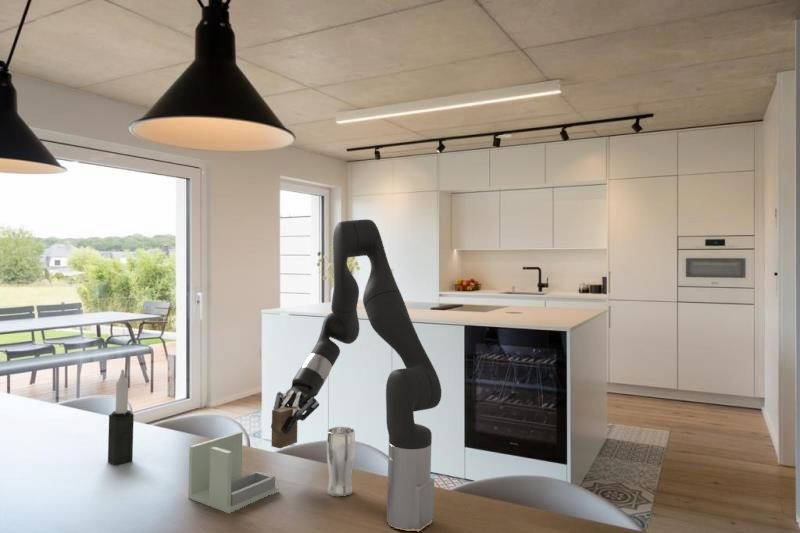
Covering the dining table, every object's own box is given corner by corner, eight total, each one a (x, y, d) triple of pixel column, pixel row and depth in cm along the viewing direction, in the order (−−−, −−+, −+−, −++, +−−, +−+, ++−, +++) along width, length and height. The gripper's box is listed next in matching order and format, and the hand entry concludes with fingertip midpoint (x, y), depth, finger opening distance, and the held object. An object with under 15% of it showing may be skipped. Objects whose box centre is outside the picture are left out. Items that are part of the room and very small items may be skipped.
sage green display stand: (278, 491, 137) (279, 437, 137) (229, 513, 125) (230, 454, 125) (238, 478, 145) (239, 427, 145) (188, 498, 132) (189, 442, 132)
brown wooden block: (297, 442, 146) (297, 407, 146) (280, 448, 141) (280, 412, 141) (288, 440, 147) (289, 405, 147) (271, 446, 142) (272, 410, 142)
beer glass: (327, 499, 134) (329, 435, 134) (323, 487, 140) (324, 427, 140) (356, 496, 135) (358, 433, 135) (351, 485, 142) (352, 425, 142)
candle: (115, 466, 151) (117, 372, 151) (106, 461, 154) (108, 369, 154) (134, 461, 155) (136, 369, 155) (124, 456, 158) (127, 367, 158)
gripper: (286, 363, 154) (251, 418, 144) (326, 369, 146) (292, 427, 136) (299, 380, 159) (266, 434, 148) (339, 386, 151) (306, 443, 141)
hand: (279, 430), depth 142 cm, fingers closed on brown wooden block, 3 cm apart
